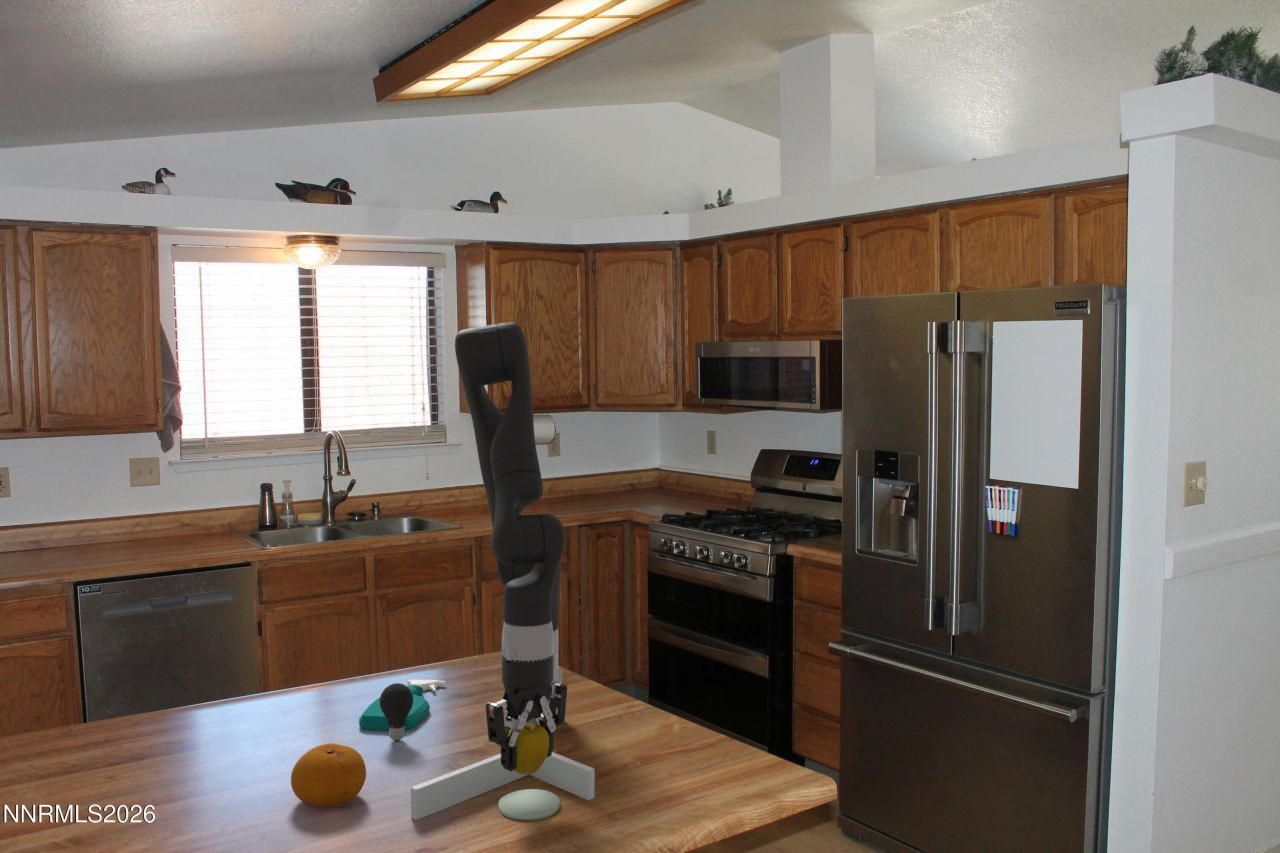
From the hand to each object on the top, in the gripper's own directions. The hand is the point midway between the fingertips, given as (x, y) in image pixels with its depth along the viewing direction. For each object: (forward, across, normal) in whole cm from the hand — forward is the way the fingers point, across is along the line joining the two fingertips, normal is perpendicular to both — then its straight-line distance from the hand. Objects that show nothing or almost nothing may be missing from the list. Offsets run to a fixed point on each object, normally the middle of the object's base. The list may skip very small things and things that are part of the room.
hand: (527, 761), depth 150 cm
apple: (+2, 0, 0) cm, 2 cm away
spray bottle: (+7, -12, -48) cm, 50 cm away
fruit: (+7, +19, -23) cm, 30 cm away
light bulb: (+7, -1, -35) cm, 36 cm away
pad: (+7, 0, 0) cm, 7 cm away
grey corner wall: (+7, +2, -2) cm, 8 cm away
